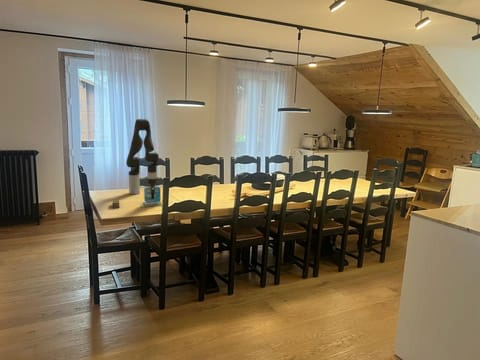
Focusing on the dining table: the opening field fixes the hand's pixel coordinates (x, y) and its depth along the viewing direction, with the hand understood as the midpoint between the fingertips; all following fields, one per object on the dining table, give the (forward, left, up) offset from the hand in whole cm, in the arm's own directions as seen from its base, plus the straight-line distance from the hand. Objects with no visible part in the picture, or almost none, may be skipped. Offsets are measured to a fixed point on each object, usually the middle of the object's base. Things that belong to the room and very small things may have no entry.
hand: (152, 198), depth 296 cm
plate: (0, 0, -5) cm, 5 cm away
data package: (0, 0, -3) cm, 3 cm away
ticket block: (0, -28, -5) cm, 28 cm away
